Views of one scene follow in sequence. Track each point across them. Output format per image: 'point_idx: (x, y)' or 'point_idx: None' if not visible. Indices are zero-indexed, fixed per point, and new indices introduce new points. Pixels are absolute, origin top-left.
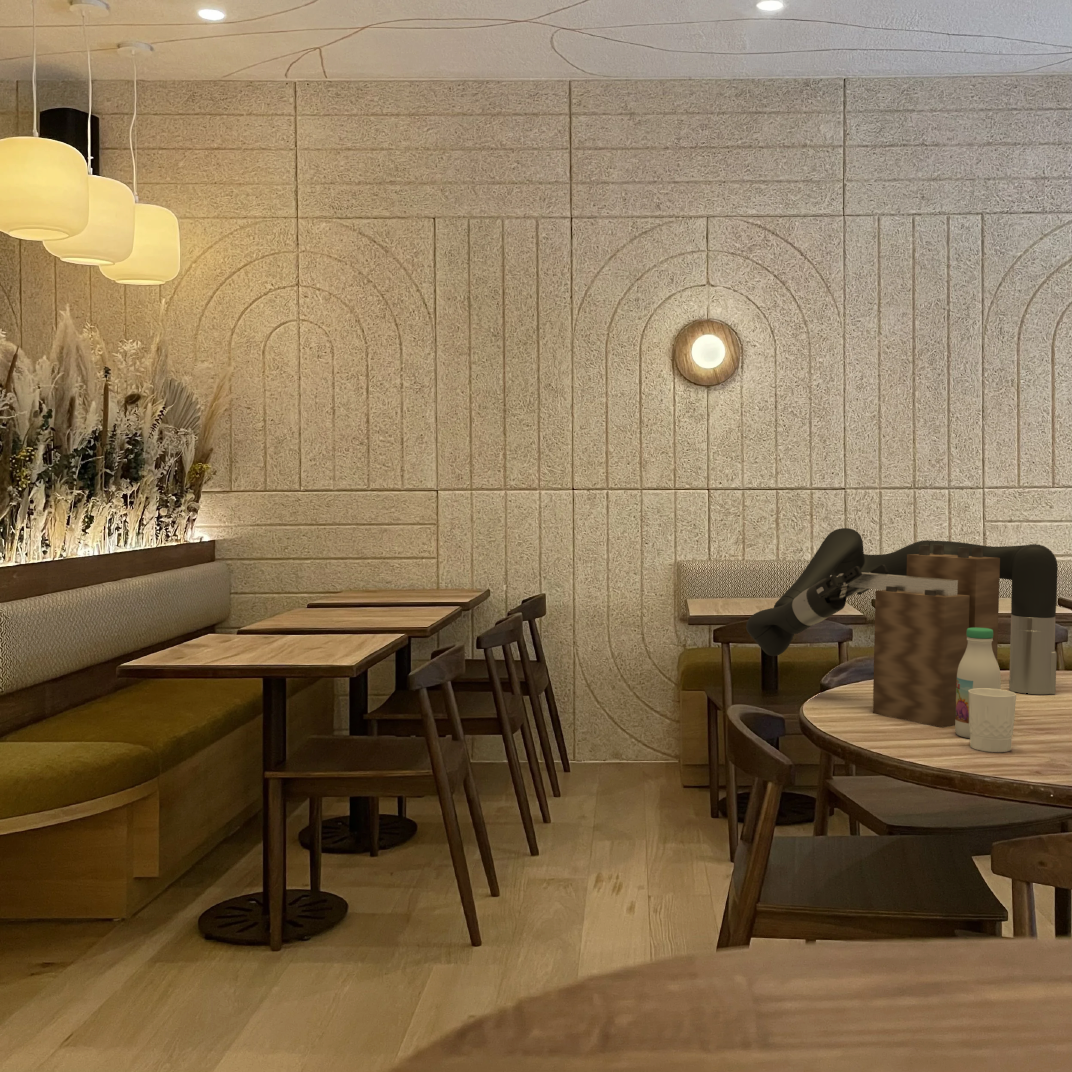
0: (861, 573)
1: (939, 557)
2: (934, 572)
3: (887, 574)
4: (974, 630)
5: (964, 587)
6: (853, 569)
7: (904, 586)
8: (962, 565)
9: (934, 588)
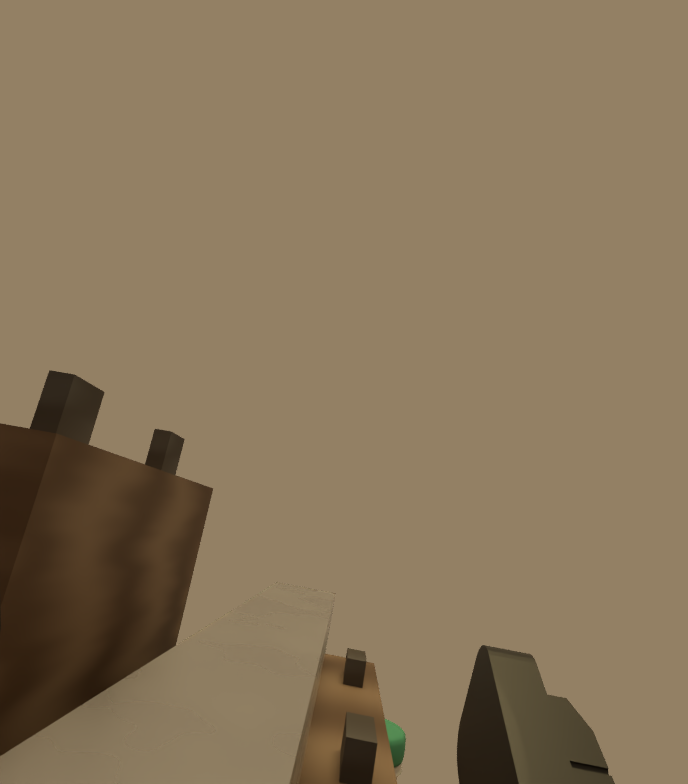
0: (465, 726)
1: (160, 474)
2: (127, 556)
3: (197, 648)
4: (403, 731)
5: (170, 605)
6: (564, 709)
7: (316, 690)
8: (190, 512)
9: (326, 642)
